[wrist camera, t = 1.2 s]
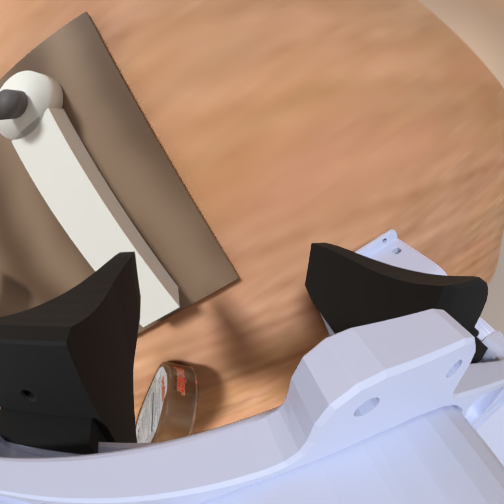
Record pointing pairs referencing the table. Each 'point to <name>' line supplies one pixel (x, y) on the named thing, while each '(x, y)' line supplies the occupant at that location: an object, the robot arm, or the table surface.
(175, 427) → the tin
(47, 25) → the table surface
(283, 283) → the table surface
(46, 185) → the pivot bar
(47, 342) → the robot arm
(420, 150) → the table surface
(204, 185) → the table surface
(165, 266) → the pivot board
